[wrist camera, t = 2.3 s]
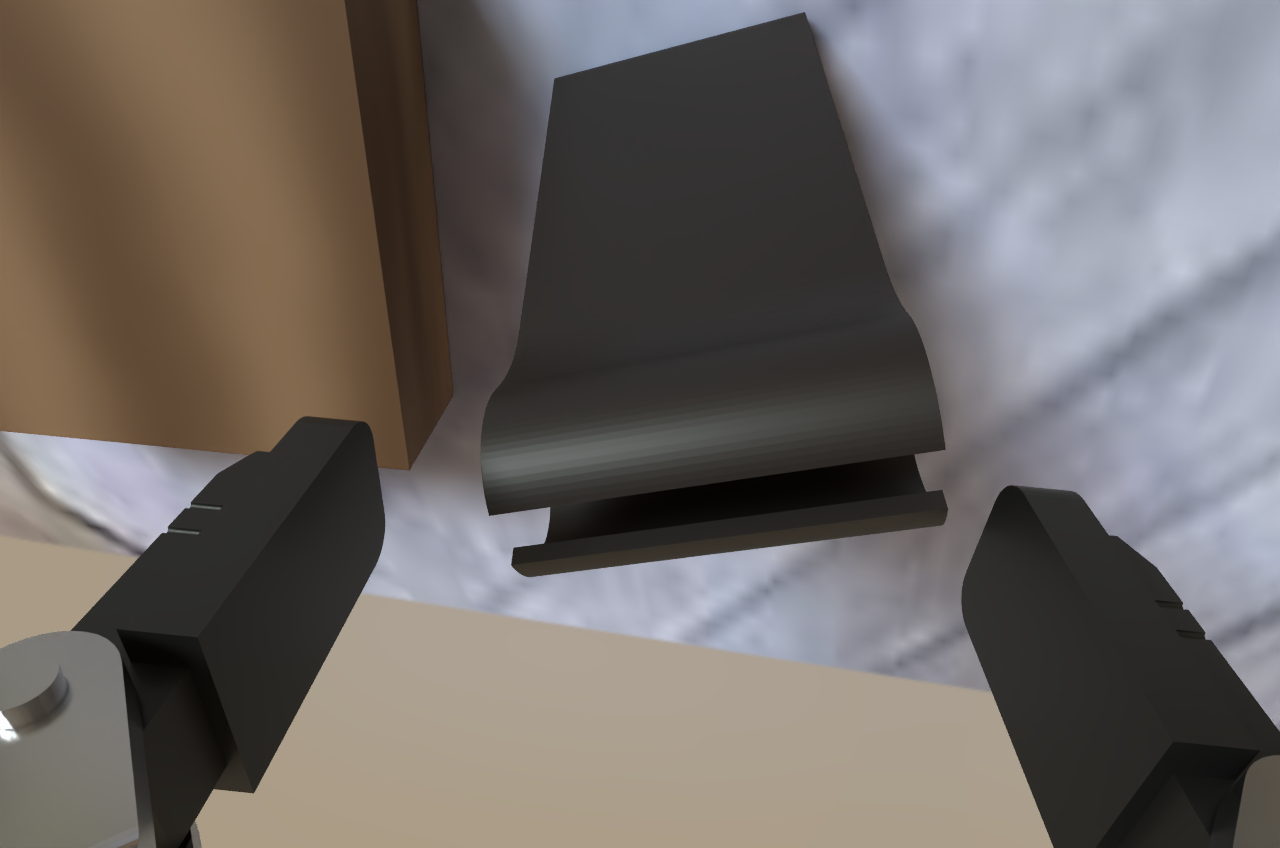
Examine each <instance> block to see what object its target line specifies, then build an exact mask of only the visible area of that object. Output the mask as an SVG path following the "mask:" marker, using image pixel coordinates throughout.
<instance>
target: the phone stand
mask: <svg viewBox="0 0 1280 848" xmlns="http://www.w3.org/2000/svg"><path fill="white" fill-rule="evenodd" d="M940 450H945V442H944V435H943V428H942V422H941V416H940V410H939V405H938V400H937V395H936V391H935V386H934V382H933V378H932V374H931V370H930V366H929V362H928V359H927V355H926V352H925V349H924V346H923V343H922V340H921V337H920V335H919V332H918V330H917V328H916V325H915V323H914V322H913V320H912V318H911V317H910V315H909V314H908V313H907V312H906V311H905V309H904V308H903V306H902V305H901V303H900V301H899V299H898V297H897V295H896V293H895V291H894V289H893V286H892V284H891V281H890V279H889V276H888V273H887V270H886V267H885V264H884V261H883V258H882V255H881V252H880V249H879V245H878V242H877V239H876V236H875V233H874V230H873V226H872V223H871V220H870V217H869V214H868V211H867V207H866V204H865V201H864V198H863V195H862V191H861V188H860V185H859V182H858V179H857V176H856V172H855V169H854V166H853V163H852V160H851V157H850V153H849V150H848V147H847V144H846V141H845V138H844V134H843V131H842V128H841V125H840V122H839V118H838V115H837V112H836V109H835V106H834V103H833V99H832V96H831V93H830V90H829V87H828V84H827V80H826V77H825V74H824V71H823V68H822V65H821V61H820V58H819V55H818V52H817V49H816V45H815V42H814V39H813V36H812V33H811V30H810V26H809V23H808V20H807V17H806V14H805V12H803V13H800V14H796V15H792V16H788V17H785V18H781V19H777V20H773V21H769V22H766V23H762V24H758V25H754V26H751V27H747V28H743V29H739V30H736V31H732V32H728V33H724V34H720V35H717V36H713V37H709V38H705V39H702V40H698V41H694V42H690V43H687V44H683V45H679V46H675V47H672V48H668V49H664V50H660V51H656V52H653V53H649V54H645V55H641V56H638V57H634V58H630V59H626V60H623V61H619V62H615V63H611V64H607V65H604V66H600V67H596V68H592V69H589V70H585V71H581V72H577V73H574V74H570V75H566V76H562V77H558V78H555V80H554V86H553V94H552V101H551V108H550V115H549V122H548V130H547V137H546V144H545V151H544V158H543V166H542V173H541V180H540V187H539V194H538V202H537V209H536V216H535V223H534V230H533V238H532V245H531V252H530V259H529V266H528V274H527V281H526V288H525V295H524V302H523V310H522V317H521V324H520V331H519V338H518V343H517V348H516V352H515V356H514V359H513V362H512V365H511V367H510V369H509V371H508V374H507V375H506V377H505V379H504V380H503V382H502V383H501V384H500V386H499V387H498V388H497V389H496V390H495V391H494V393H493V394H492V396H491V397H490V399H489V402H488V404H487V407H486V411H485V415H484V420H483V426H482V435H481V469H482V480H483V487H484V494H485V499H486V504H487V509H488V513H489V516H491V515H498V514H505V513H512V512H519V511H526V510H532V509H539V508H546V507H550V522H549V529H548V533H547V537H546V541H545V543H544V544H538V545H531V546H523V547H516V548H513V556H512V563H511V565H512V567H513V568H514V569H515V570H516V571H517V572H519V573H520V574H521V575H523V576H526V577H535V576H543V575H551V574H559V573H567V572H575V571H583V570H591V569H599V568H607V567H614V566H622V565H630V564H638V563H646V562H654V561H662V560H670V559H678V558H686V557H694V556H702V555H710V554H718V553H726V552H734V551H742V550H750V549H758V548H766V547H773V546H781V545H789V544H797V543H805V542H813V541H821V540H829V539H837V538H845V537H853V536H861V535H869V534H877V533H885V532H893V531H901V530H909V529H917V528H925V527H932V526H940V525H943V524H944V522H945V520H946V517H947V511H948V507H947V504H946V501H945V498H944V495H943V491H942V490H939V491H932V492H926V491H925V488H924V486H923V483H922V480H921V477H920V474H919V471H918V468H917V464H916V461H915V457H914V454H919V453H926V452H933V451H940Z"/></svg>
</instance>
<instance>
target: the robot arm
mask: <svg viewBox="0 0 1280 848" xmlns="http://www.w3.org/2000/svg"><path fill="white" fill-rule="evenodd" d="M384 533H385V513H384V506H383V500H382V493H381V486H380V479H379V472H378V466H377V459H376V452H375V445H374V439H373V434H372V431H371V428H370V426H369V425H368V424H367V423H366V422H363V421H354V420H343V419H333V418H322V417H312V416H304V417H302V418H300V419H299V420H298V421H297V422H296V423H295V424H294V425H293V426H292V427H291V428H290V430H289V431H288V432H287V433H286V434H285V435H284V436H283V438H282V439H281V440H280V441H279V442H278V443H277V444H276V446H275V447H274V448H273V449H272V450H271V451H270V452H264V451H256V452H254V453H252V454H251V455H249V456H247V457H245V458H244V459H242V460H240V461H238V462H237V463H235V464H233V465H232V466H230V467H228V468H226V469H225V470H223V471H221V472H220V473H218V474H217V475H216V476H215V477H214V478H213V479H212V480H211V481H210V482H209V483H208V484H207V486H206V487H205V488H204V489H203V490H202V491H201V492H200V493H199V494H198V495H197V496H196V497H195V498H194V499H193V501H192V502H191V507H190V509H188V508H185V509H184V510H183V511H182V512H181V513H180V514H179V515H178V517H177V518H176V519H175V520H174V521H173V522H172V523H171V524H170V525H169V526H168V532H167V533H162V534H161V535H160V536H159V537H158V538H157V539H156V540H155V541H154V542H153V543H152V544H151V545H150V546H149V548H148V549H147V550H146V551H145V552H144V553H143V554H142V555H141V556H140V557H139V558H138V559H137V560H136V561H135V563H134V564H133V565H132V566H131V567H130V568H129V569H128V570H127V571H126V572H125V573H124V574H123V575H122V576H121V578H120V579H119V580H118V581H117V582H116V583H115V584H114V585H113V586H112V587H111V588H110V589H109V590H108V591H107V592H106V593H105V595H104V596H103V597H102V598H101V599H100V600H99V601H98V602H97V603H96V604H95V606H93V607H92V608H91V610H90V611H89V612H88V613H87V614H86V615H85V616H84V617H83V618H82V619H81V620H80V621H79V622H78V624H77V625H76V626H75V627H74V628H73V629H72V630H71V631H62V632H53V633H47V634H42V635H38V636H34V637H31V638H27V639H24V640H21V641H18V642H15V643H12V644H10V645H7V646H5V647H3V648H1V649H0V848H202V847H201V841H200V835H199V831H198V828H197V824H196V822H195V819H196V818H197V816H198V814H199V813H200V811H201V809H202V807H203V806H204V804H205V802H206V801H207V799H208V797H209V796H210V794H211V792H212V790H213V789H218V790H228V791H238V792H246V793H247V792H248V793H254V792H255V790H256V788H257V787H258V785H259V783H260V781H261V779H262V777H263V775H264V773H265V772H266V770H267V768H268V766H269V764H270V762H271V760H272V758H273V757H274V755H275V753H276V751H277V749H278V747H279V745H280V743H281V741H282V740H283V738H284V736H285V734H286V732H287V730H288V728H289V727H290V725H291V723H292V721H293V719H294V717H295V715H296V714H297V712H298V710H299V708H300V706H301V704H302V702H303V700H304V699H305V697H306V695H307V693H308V691H309V689H310V687H311V685H312V684H313V682H314V680H315V678H316V676H317V674H318V672H319V670H320V669H321V667H322V665H323V663H324V661H325V659H326V657H327V655H328V654H329V652H330V650H331V648H332V646H333V644H334V642H335V641H336V639H337V637H338V635H339V633H340V631H341V629H342V627H343V626H344V624H345V622H346V620H347V618H348V616H349V614H350V612H351V610H352V609H353V607H354V605H355V603H356V601H357V599H358V597H359V596H360V594H361V592H362V590H363V588H364V586H365V584H366V583H367V581H368V579H369V577H370V575H371V573H372V571H373V569H374V568H375V566H376V564H377V561H378V559H379V556H380V553H381V550H382V546H383V540H384ZM1182 604H1183V602H1182V601H1181V599H1180V598H1179V597H1178V595H1177V594H1176V593H1175V591H1174V590H1173V589H1172V587H1171V586H1170V585H1169V583H1168V582H1167V581H1166V579H1165V578H1164V577H1163V575H1162V574H1161V573H1160V571H1159V570H1158V569H1157V567H1155V566H1154V565H1153V564H1152V563H1150V562H1149V561H1148V560H1146V559H1145V558H1144V557H1143V556H1141V555H1140V554H1139V553H1138V552H1136V551H1135V550H1134V549H1133V548H1131V547H1130V546H1129V545H1128V544H1126V543H1125V542H1124V541H1123V540H1121V539H1120V538H1119V537H1118V536H1109V535H1108V534H1107V532H1106V531H1105V529H1104V528H1103V527H1102V525H1101V524H1100V522H1099V521H1098V520H1097V518H1096V517H1095V515H1094V514H1093V512H1092V511H1091V510H1090V508H1089V507H1088V505H1087V504H1086V503H1085V501H1084V500H1083V499H1082V497H1081V496H1080V495H1078V494H1077V493H1075V492H1073V491H1065V490H1054V489H1044V488H1033V487H1023V486H1012V485H1010V486H1007V487H1006V488H1004V489H1003V490H1002V491H1001V492H1000V494H999V495H998V497H997V499H996V501H995V504H994V506H993V508H992V511H991V513H990V516H989V518H988V521H987V523H986V525H985V528H984V530H983V533H982V535H981V538H980V540H979V542H978V545H977V547H976V550H975V552H974V555H973V557H972V559H971V562H970V564H969V567H968V569H967V572H966V574H965V577H964V581H963V587H962V613H963V618H964V622H965V625H966V628H967V631H968V633H969V636H970V638H971V641H972V643H973V646H974V648H975V651H976V653H977V656H978V658H979V661H980V663H981V666H982V668H983V671H984V673H985V676H986V678H987V681H988V683H989V686H990V688H991V691H992V693H993V696H994V698H995V701H996V703H997V706H998V709H999V711H1000V713H1001V716H1002V718H1003V721H1004V724H1005V726H1006V729H1007V731H1008V734H1009V736H1010V738H1011V741H1012V744H1013V746H1014V749H1015V751H1016V754H1017V756H1018V759H1019V761H1020V764H1021V766H1022V769H1023V771H1024V774H1025V776H1026V779H1027V782H1028V784H1029V786H1030V789H1031V791H1032V794H1033V797H1034V799H1035V801H1036V804H1037V807H1038V809H1039V812H1040V814H1041V817H1042V819H1043V821H1044V824H1045V827H1046V829H1047V832H1048V834H1049V837H1050V839H1051V842H1052V844H1053V847H1054V848H1280V732H1279V730H1278V729H1277V728H1276V726H1275V725H1274V724H1273V722H1272V721H1271V720H1270V718H1269V717H1268V716H1267V714H1266V713H1265V712H1264V710H1263V709H1262V708H1261V706H1260V705H1259V704H1258V702H1257V701H1256V700H1255V698H1254V697H1253V696H1252V694H1251V693H1250V692H1249V690H1248V689H1247V688H1246V686H1245V685H1244V684H1243V682H1242V681H1241V680H1240V678H1239V677H1238V676H1237V674H1236V673H1235V672H1234V670H1233V669H1232V668H1231V666H1230V665H1229V664H1228V662H1227V661H1226V660H1225V658H1224V657H1223V656H1222V654H1221V653H1220V652H1219V650H1218V649H1217V647H1216V646H1215V645H1214V643H1213V642H1212V641H1211V640H1206V639H1205V631H1204V630H1203V629H1202V627H1201V626H1200V625H1199V623H1198V622H1197V621H1196V619H1195V618H1194V617H1193V615H1192V614H1191V613H1190V611H1189V610H1184V609H1183V607H1182Z"/></svg>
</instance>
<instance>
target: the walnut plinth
mask: <svg viewBox="0 0 1280 848" xmlns="http://www.w3.org/2000/svg"><path fill="white" fill-rule="evenodd" d="M452 397H453V388H452V377H451V366H450V355H449V344H448V334H447V323H446V312H445V301H444V290H443V279H442V269H441V258H440V247H439V236H438V225H437V215H436V204H435V193H434V182H433V171H432V161H431V150H430V139H429V128H428V117H427V107H426V96H425V85H424V74H423V63H422V53H421V42H420V31H419V20H418V9H417V0H0V431H7V432H18V433H28V434H38V435H49V436H59V437H69V438H80V439H90V440H100V441H111V442H121V443H131V444H142V445H152V446H162V447H173V448H183V449H193V450H204V451H214V452H224V453H235V454H245V455H251V454H252V453H254V452H256V451H264V452H270V451H271V450H272V449H273V448H274V447H275V446H276V444H277V443H278V442H279V441H280V440H281V439H282V438H283V436H284V435H285V434H286V433H287V432H288V431H289V430H290V428H291V427H292V426H293V425H294V424H295V423H296V422H297V421H298V420H299V419H300V418H302V417H304V416H312V417H322V418H333V419H343V420H354V421H363V422H366V423H367V424H368V425H369V426H370V428H371V431H372V434H373V439H374V445H375V452H376V459H377V466H378V467H380V468H390V469H400V470H410V469H411V467H412V465H413V463H414V462H415V460H416V458H417V457H418V455H419V453H420V451H421V450H422V448H423V446H424V445H425V443H426V441H427V439H428V438H429V436H430V434H431V433H432V431H433V429H434V428H435V426H436V424H437V422H438V421H439V419H440V417H441V416H442V414H443V412H444V410H445V409H446V407H447V405H448V404H449V402H450V400H451V399H452Z"/></svg>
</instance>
